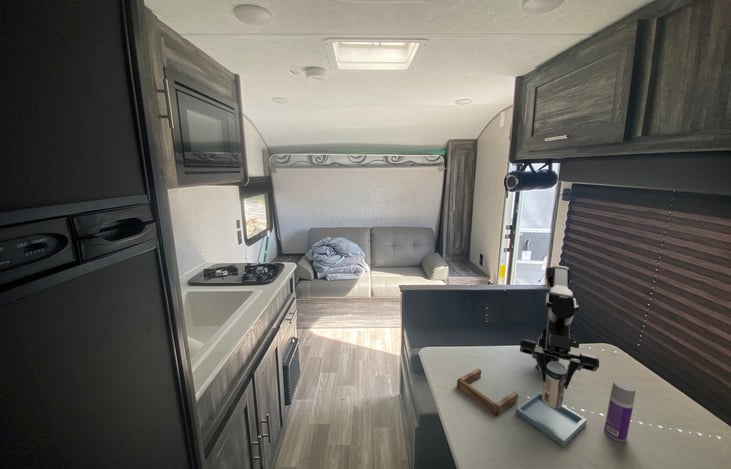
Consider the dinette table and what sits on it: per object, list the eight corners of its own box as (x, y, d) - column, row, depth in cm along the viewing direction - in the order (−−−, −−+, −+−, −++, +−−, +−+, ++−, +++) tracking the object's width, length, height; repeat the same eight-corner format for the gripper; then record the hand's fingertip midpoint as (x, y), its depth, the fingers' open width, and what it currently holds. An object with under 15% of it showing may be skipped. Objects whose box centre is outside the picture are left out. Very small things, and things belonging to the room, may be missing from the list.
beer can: (562, 412, 80) (568, 372, 78) (542, 405, 82) (547, 367, 80) (560, 400, 84) (566, 363, 82) (541, 395, 86) (546, 358, 84)
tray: (538, 396, 93) (539, 391, 93) (585, 425, 82) (586, 419, 82) (514, 413, 86) (515, 407, 86) (563, 447, 75) (564, 441, 75)
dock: (477, 376, 103) (478, 368, 102) (517, 402, 91) (518, 393, 90) (456, 387, 97) (457, 379, 96) (496, 416, 85) (497, 407, 85)
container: (630, 443, 77) (641, 392, 74) (610, 439, 78) (619, 390, 75) (619, 428, 81) (628, 380, 79) (600, 425, 82) (608, 378, 79)
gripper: (524, 313, 87) (517, 367, 80) (603, 330, 77) (604, 392, 70) (522, 326, 95) (516, 376, 88) (594, 342, 86) (594, 399, 79)
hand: (554, 385), depth 81 cm, fingers closed on beer can, 5 cm apart
